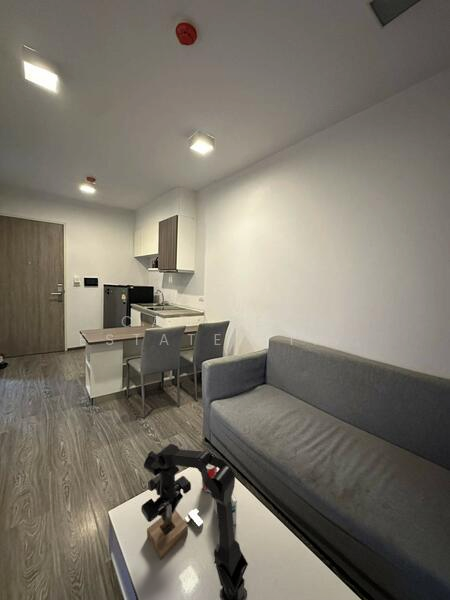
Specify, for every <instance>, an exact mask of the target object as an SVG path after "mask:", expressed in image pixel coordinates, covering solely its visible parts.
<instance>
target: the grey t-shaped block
mask: <svg viewBox="0 0 450 600" xmlns="http://www.w3.org/2000/svg"><path fill="white" fill-rule="evenodd" d="M199 514H200V511H199V510H198V509H197V508H195V509H191V510H190V512H188V513H187V516H185V518H184V521H185V522H186V523H187V525H189V523H193V524H194V525H193V524H192V525H193V526H194V527H195V528H196V530H197V529H198V530H197V531H198V532H199V531H200V530H202V529H203V527H204V521H203V520H202V518H201V517H200V516H199Z"/></svg>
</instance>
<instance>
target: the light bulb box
mask: <svg viewBox="0 0 450 600" xmlns="http://www.w3.org/2000/svg"><path fill="white" fill-rule="evenodd" d="M231 500H232V512H233V524H234V525H236V524H237V505H238V504H237V503H238V501H237V497H236V496H235V494H234V492H233V493H232V497H231ZM213 508H214V511H215V514H216V516H217V504H216V501H215V500H214V499H213ZM217 518H218V516H217Z"/></svg>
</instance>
